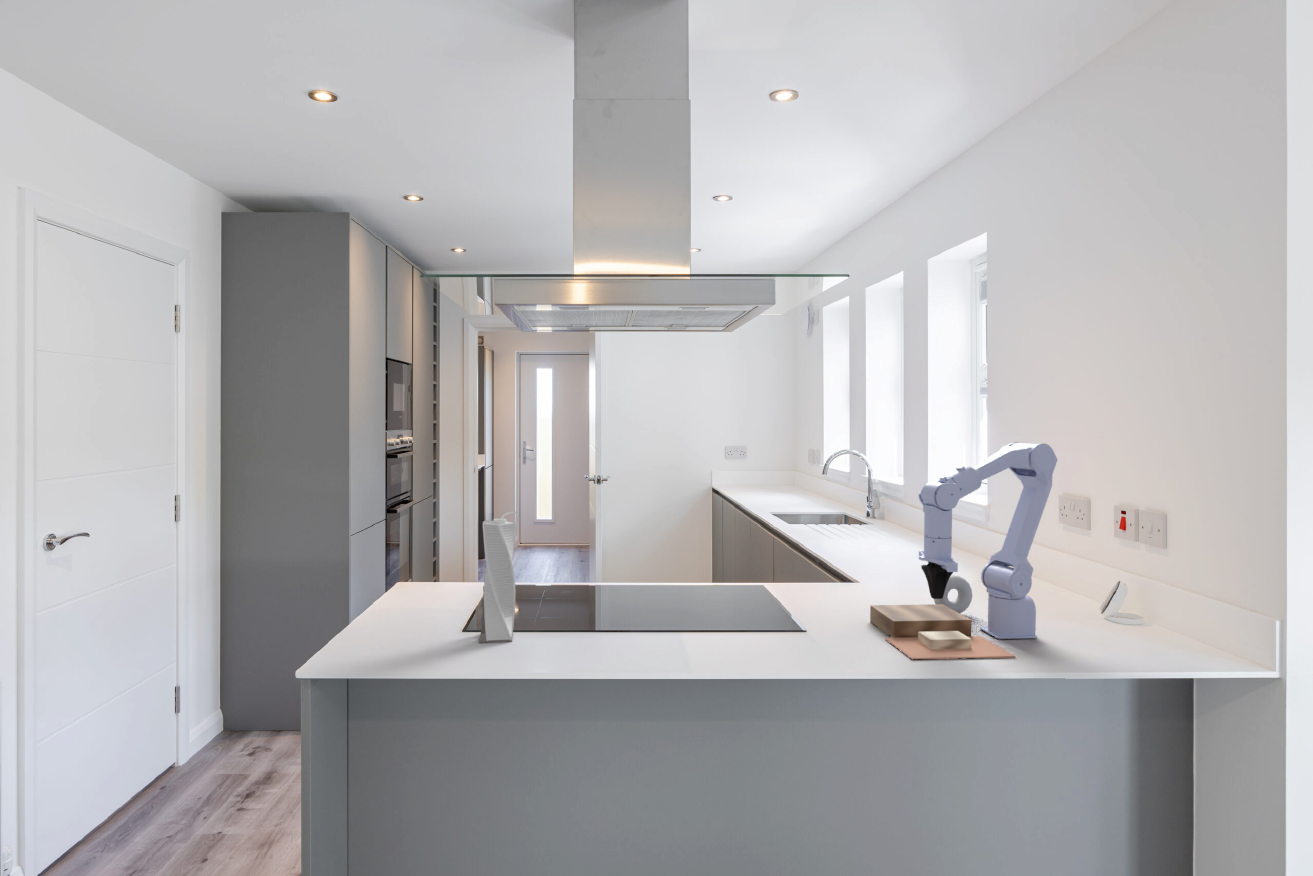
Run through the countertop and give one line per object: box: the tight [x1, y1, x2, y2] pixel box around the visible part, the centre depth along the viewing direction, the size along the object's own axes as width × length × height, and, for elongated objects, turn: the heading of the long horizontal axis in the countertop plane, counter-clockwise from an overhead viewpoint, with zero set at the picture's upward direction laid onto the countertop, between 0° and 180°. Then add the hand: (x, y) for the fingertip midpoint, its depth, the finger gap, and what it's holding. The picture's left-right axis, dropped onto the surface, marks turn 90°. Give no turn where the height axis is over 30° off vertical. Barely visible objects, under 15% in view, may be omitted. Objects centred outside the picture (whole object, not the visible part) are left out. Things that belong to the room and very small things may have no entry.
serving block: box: [869, 603, 973, 638], centre depth 175 cm, size 18×14×4 cm
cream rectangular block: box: [918, 631, 971, 649], centre depth 162 cm, size 9×6×2 cm, turn 94°
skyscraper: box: [478, 510, 520, 644], centre depth 165 cm, size 8×8×28 cm
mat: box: [884, 635, 1016, 661], centre depth 160 cm, size 22×14×1 cm, turn 95°
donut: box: [933, 574, 973, 614], centre depth 188 cm, size 10×4×10 cm, turn 99°
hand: (936, 598), depth 166 cm, fingers closed
